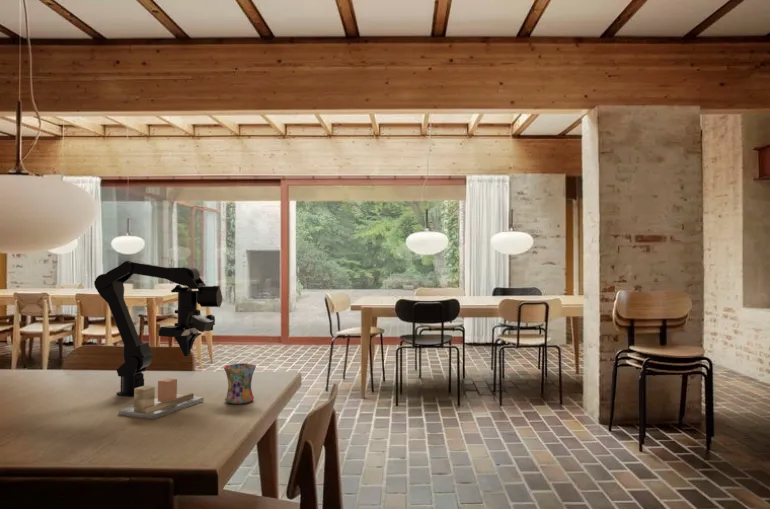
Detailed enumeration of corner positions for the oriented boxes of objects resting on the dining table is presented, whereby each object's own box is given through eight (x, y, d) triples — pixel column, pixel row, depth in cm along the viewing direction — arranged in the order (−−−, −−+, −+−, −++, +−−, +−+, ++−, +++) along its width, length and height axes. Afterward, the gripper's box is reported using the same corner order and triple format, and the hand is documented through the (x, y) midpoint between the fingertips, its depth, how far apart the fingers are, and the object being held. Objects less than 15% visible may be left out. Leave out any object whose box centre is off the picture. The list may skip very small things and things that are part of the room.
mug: (257, 404, 156) (258, 368, 157) (225, 407, 153) (226, 370, 153) (251, 394, 167) (251, 361, 168) (220, 397, 164) (221, 362, 164)
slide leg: (157, 401, 152) (158, 380, 152) (166, 398, 155) (167, 378, 155) (167, 402, 151) (167, 381, 151) (176, 399, 154) (177, 379, 154)
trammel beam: (133, 410, 144) (133, 388, 144) (180, 395, 160) (180, 375, 161) (147, 412, 142) (147, 390, 142) (193, 397, 159) (193, 377, 159)
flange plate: (118, 414, 144) (118, 409, 144) (171, 397, 163) (171, 393, 163) (152, 419, 140) (152, 414, 140) (203, 401, 159) (203, 397, 159)
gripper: (187, 310, 156) (186, 363, 156) (227, 305, 174) (226, 353, 173) (157, 308, 160) (156, 360, 160) (199, 304, 177) (198, 351, 177)
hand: (186, 356), depth 167 cm, fingers closed
